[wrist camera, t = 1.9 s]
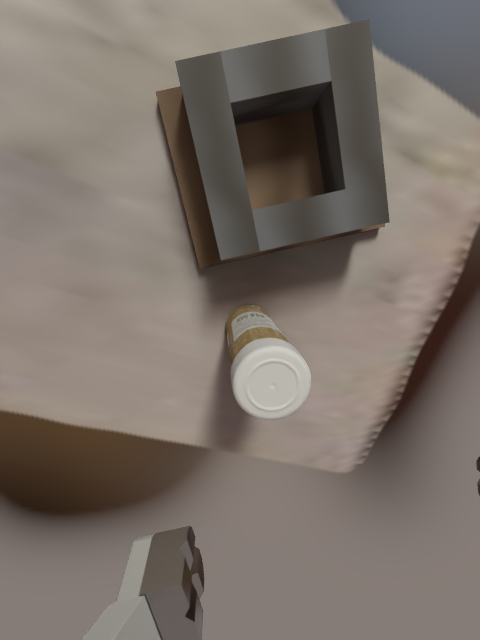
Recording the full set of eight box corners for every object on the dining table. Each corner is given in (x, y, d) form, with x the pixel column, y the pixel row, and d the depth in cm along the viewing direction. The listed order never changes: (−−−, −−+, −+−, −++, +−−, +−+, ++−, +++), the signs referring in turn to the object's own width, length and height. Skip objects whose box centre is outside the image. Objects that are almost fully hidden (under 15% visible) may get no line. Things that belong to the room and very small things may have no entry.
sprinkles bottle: (222, 345, 31) (226, 418, 18) (229, 299, 30) (238, 341, 17) (267, 351, 31) (304, 427, 18) (276, 306, 30) (321, 352, 17)
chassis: (200, 267, 29) (196, 272, 24) (158, 97, 26) (142, 58, 20) (379, 227, 29) (415, 223, 24) (360, 53, 26) (397, 4, 21)
